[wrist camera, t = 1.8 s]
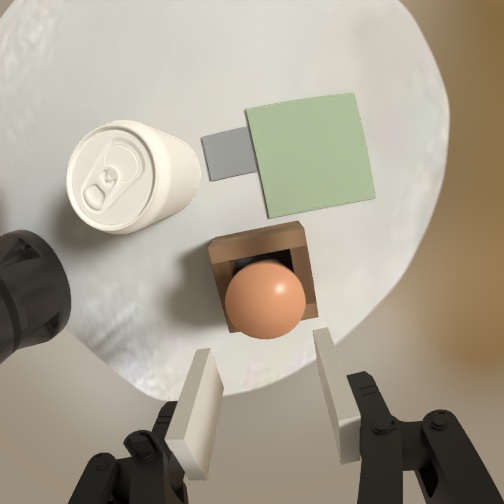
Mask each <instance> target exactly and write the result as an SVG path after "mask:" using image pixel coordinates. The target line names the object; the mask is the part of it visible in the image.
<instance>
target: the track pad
mask: <svg viewBox="0 0 504 504" xmlns="http://www.w3.org/2000/svg"><path fill="white" fill-rule="evenodd" d="M202 140H203V145H204V149H205V154H206V159H207V163H208V168H209V172H210V177H211V181H214V180H218V179H223V178H227V177H232V176H236V175H241V174H245V173H250V172H255V171H257V169H256V164H255V159H254V155H253V150H252V146H251V141H250V137H249V132H248V128H247V127H242V128H237V129H233V130H229V131H224V132H220V133H216V134H212V135H208V136H204V137H202Z"/></svg>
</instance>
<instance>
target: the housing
mask: <svg viewBox="0 0 504 504" xmlns="http://www.w3.org/2000/svg"><path fill="white" fill-rule="evenodd" d="M207 248H208V252H209V256H210V260H211V264H212V268H213V272H214V276H215V280H216V284H217V288H218V292H219V295H220V299H221V303H222V307H223V310H224V314H225V318H226V321H227V325H228V329H229V332H230V333H235V332H241V331H239V330H238V329H237V328H236V327H235V326H234V325H233V324H232V322H231V321H230V319H229V317H228V315H227V312H226V308H225V297H226V293H227V289H228V286H229V284H230V282H231V280H232V278H233V277H234V276H235V275H236V274H237V273H238V268H237V264H236V260H235V259H240V258H245V257H250V256H255V255H260V254H265V253H270V252H275V251H280V250H285V249H288V251H289V256H290V261H291V267H292V272H293V273H294V274H295V275H296V276H297V277H298V279H299V281H300V282H301V285H302V287H303V290H304V294H305V300H306V303H305V310H304V314H303V316H302V318H301V320H306V319H311V318H316V317H318V310H317V303H316V296H315V290H314V284H313V277H312V271H311V265H310V259H309V253H308V248H307V242H306V236H305V231H304V227H303V226H302V225H301V224H300V222H299V221H294V222H288V223H283V224H278V225H273V226H269V227H264V228H259V229H254V230H249V231H244V232H239V233H234V234H230V235H225V236H220V237H215V238H214V240H213V241H212V242H211V243H210V245H209V246H208V247H207ZM301 320H300V321H301Z"/></svg>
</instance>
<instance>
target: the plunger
mask: <svg viewBox="0 0 504 504" xmlns="http://www.w3.org/2000/svg"><path fill="white" fill-rule="evenodd" d="M305 303H306V300H305V294H304V290H303V287H302V285H301V282H300V281H299V279H298V277H297V276H296V275H295V274H294V273H293V272H292V271H291V270H290V269H288V268H287V267H285V266H283V264H282V263H281V262H280V261H278V260H277V259H275V258H272V257H258V258H256V259H254V260H252V261H251V262H249V263H248V264H247V266H246V267H244V268H243V269H241V270H240V271H239V272H238V273H237V274H236V275H235V276H234V277H233V278H232V280H231V282H230V284H229V286H228V289H227V293H226V297H225V308H226V312H227V315H228V317H229V319H230V321H231V322H232V324H233V325H234V326H235V327H236V328H237V329H238V330H239V331H241V332H242V333H244V334H246V335H248V336H250V337H253V338H258V339H273V338H277V337H280V336H283V335H285V334H287V333H288V332H290V331H291V330H292V329H293V328H295V326H296V325H297V324H298V323H299V321H300V320H301V318H302V316H303V314H304V310H305Z"/></svg>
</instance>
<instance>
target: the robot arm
mask: <svg viewBox="0 0 504 504" xmlns="http://www.w3.org/2000/svg"><path fill="white" fill-rule="evenodd" d="M70 311H71V294H70V288H69V284H68V280H67V277H66V274H65V271H64V269H63V266H62V264H61V262H60V260H59V259H58V257H57V255H56V254H55V252H54V251H53V250H52V248H51V247H50V246H49V245H48V244H47V243H46V242H45V241H44V240H43V239H42V238H41V237H39V236H38V235H36V234H35V233H33V232H30V231H27V230H16V231H13V232H10V233H7V234H4V235H2V236H0V364H1V363H2V362H3V361H4V360H5V359H6V358H8V357H9V356H10V355H11V354H12V353H14V352H15V351H16V350H17V349H21V348H24V347H29V346H33V345H36V344H40V343H44V342H47V341H49V340H51V339H52V338H53V337H55V336H56V335H57V334H58V333H59V332H61V331H62V330H63V328H64V327H65V326H66V324H67V322H68V319H69V316H70ZM313 336H314V343H315V350H316V357H317V364H318V371H319V376H320V380H321V383H322V388H323V392H324V395H325V399H326V403H327V407H328V412H329V416H330V419H331V424H332V428H333V432H334V436H335V440H336V445H337V449H338V454H339V458H340V462H341V465H342V464H347V463H351V462H355V461H358V460H360V455H361V458H362V463H361V473H360V483H359V493H358V501H357V504H403V471H411V470H414V471H415V474H416V477H417V479H418V482H419V485H420V487H421V490H422V493H423V496H424V498H425V501H426V504H504V501H503V499H502V497H501V495H500V493H499V491H498V489H497V487H496V486H495V484H494V482H493V480H492V478H491V476H490V475H489V473H488V471H487V469H486V467H485V465H484V464H483V462H482V460H481V458H480V457H479V455H478V453H477V451H476V450H475V448H474V446H473V444H472V443H471V441H470V439H469V438H468V436H467V434H466V433H465V431H464V429H463V428H462V426H461V425H460V423H459V421H458V420H457V418H456V416H455V415H454V414H452V412H449V411H447V410H434V411H432V412H430V413H428V414H427V415H426V416H425V417H424V418H423V421H417V422H403V421H399V420H398V419H397V418H395V417H394V416H392V415H391V414H390V412H389V410H388V408H387V406H386V403H385V402H384V399H383V397H382V395H381V393H380V392H379V389H378V387H377V386H376V383H375V381H374V379H373V377H372V376H371V375H369V374H368V373H367V372H365V371H363V372H359V373H355V374H351V375H347V376H346V374H345V372H344V369H343V366H342V364H341V361H340V359H339V356H338V354H337V351H336V348H335V346H334V343H333V341H332V338H331V335H330V333H329V330H328V328H322V329H318V330H313ZM223 389H224V387H223V384H222V381H221V379H220V376H219V373H218V370H217V367H216V363H215V360H214V357H213V354H212V351H211V348H207V349H199V350H197V351H196V353H195V356H194V359H193V362H192V364H191V367H190V370H189V372H188V375H187V378H186V381H185V383H184V386H183V389H182V392H181V395H180V397H179V400H178V401H169V402H167V403H166V404H165V405H164V406H163V407H162V408H161V410H160V412H159V414H158V418H157V419H156V422H155V424H154V427H153V429H152V432H150V431H147V430H139V431H135V432H133V433H131V434H129V435H128V436H127V437H126V439H125V440H124V443H123V444H124V445H125V447H126V448H127V450H128V451H129V453H130V454H131V456H132V457H128V458H122V459H115V457H114V456H112V455H111V454H110V453H99V454H96V455H95V456H93V457H92V458H91V459H90V461H89V462H88V464H87V466H86V468H85V470H84V472H83V474H82V476H81V478H80V480H79V482H78V484H77V486H76V488H75V490H74V492H73V494H72V496H71V498H70V500H69V502H68V504H188V495H187V488H186V485H185V483H184V482H183V478H184V474H186V476H187V477H188V479H189V480H207V477H208V472H209V465H210V460H211V455H212V449H213V444H214V438H215V433H216V426H217V422H218V416H219V410H220V405H221V400H222V394H223Z"/></svg>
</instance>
